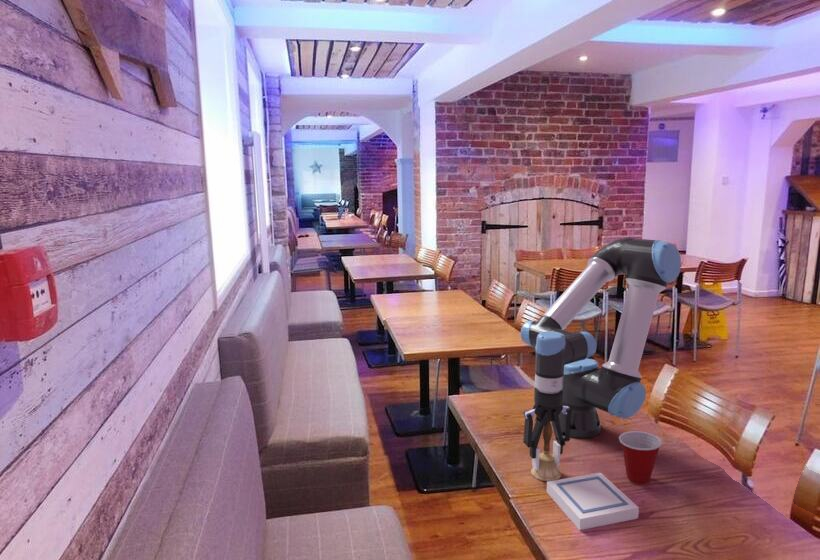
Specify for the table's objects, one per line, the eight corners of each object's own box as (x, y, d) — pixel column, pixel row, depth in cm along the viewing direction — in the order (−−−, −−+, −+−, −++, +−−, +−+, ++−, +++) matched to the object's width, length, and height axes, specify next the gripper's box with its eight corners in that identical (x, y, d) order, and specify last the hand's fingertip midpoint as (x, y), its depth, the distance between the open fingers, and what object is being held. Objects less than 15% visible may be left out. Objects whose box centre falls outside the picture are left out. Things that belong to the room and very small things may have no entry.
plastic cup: (626, 463, 155) (629, 425, 153) (665, 477, 147) (668, 437, 145) (609, 478, 148) (611, 438, 145) (649, 494, 140) (652, 452, 138)
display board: (599, 482, 146) (600, 471, 145) (638, 518, 131) (638, 506, 130) (546, 491, 142) (546, 481, 141) (579, 530, 127) (580, 518, 126)
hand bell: (526, 466, 154) (528, 415, 151) (554, 464, 155) (557, 413, 152) (536, 482, 146) (537, 429, 143) (565, 480, 147) (568, 427, 144)
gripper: (523, 398, 140) (521, 478, 144) (586, 389, 144) (582, 468, 149) (511, 387, 147) (509, 464, 151) (572, 379, 151) (568, 454, 156)
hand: (545, 465), depth 150 cm, fingers closed on hand bell, 6 cm apart
